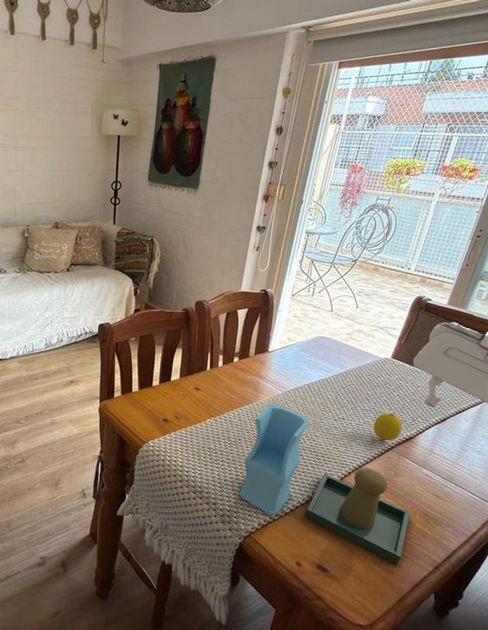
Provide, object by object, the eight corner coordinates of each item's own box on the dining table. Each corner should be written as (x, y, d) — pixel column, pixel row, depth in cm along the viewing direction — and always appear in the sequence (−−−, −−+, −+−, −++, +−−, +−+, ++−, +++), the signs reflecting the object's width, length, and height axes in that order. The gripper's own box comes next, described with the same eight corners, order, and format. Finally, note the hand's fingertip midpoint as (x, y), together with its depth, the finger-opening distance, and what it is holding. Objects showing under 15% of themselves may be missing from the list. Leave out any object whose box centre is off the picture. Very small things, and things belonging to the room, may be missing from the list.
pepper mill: (332, 508, 90) (347, 466, 86) (354, 501, 92) (370, 460, 88) (358, 532, 85) (376, 489, 80) (381, 524, 87) (399, 482, 82)
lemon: (365, 435, 113) (374, 409, 110) (380, 430, 115) (389, 405, 112) (385, 449, 108) (396, 422, 105) (401, 444, 110) (411, 418, 107)
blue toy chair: (237, 495, 93) (255, 418, 85) (253, 476, 98) (271, 402, 91) (274, 517, 88) (297, 437, 80) (289, 496, 93) (312, 419, 85)
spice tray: (406, 519, 89) (410, 512, 88) (397, 565, 79) (400, 557, 78) (322, 480, 98) (324, 473, 97) (304, 516, 89) (307, 509, 88)
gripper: (439, 315, 72) (389, 386, 76) (616, 388, 58) (543, 469, 62) (444, 318, 76) (396, 384, 80) (609, 387, 62) (542, 462, 66)
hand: (462, 422), depth 71 cm, fingers open, 8 cm apart
